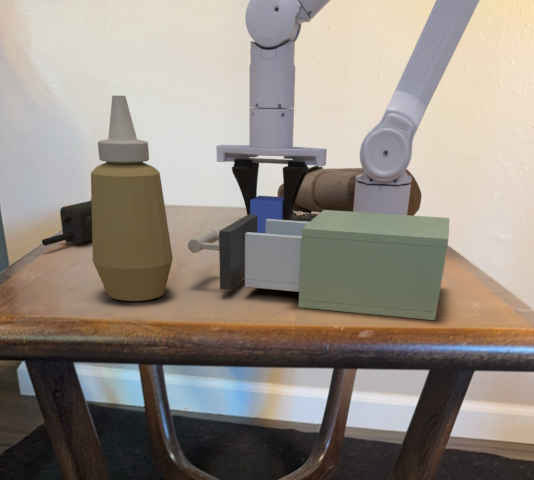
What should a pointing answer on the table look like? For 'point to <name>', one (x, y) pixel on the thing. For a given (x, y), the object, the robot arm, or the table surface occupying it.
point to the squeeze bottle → (128, 214)
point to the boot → (337, 191)
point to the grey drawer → (256, 253)
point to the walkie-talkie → (74, 224)
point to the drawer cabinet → (373, 263)
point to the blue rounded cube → (266, 210)
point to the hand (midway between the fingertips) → (269, 221)
